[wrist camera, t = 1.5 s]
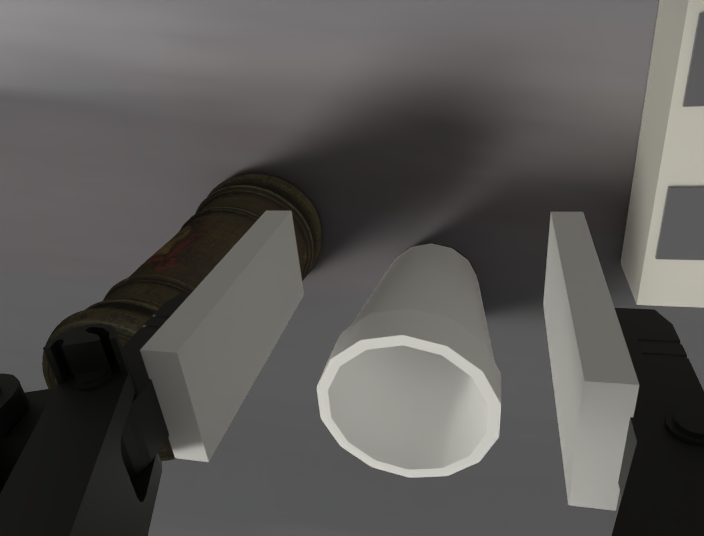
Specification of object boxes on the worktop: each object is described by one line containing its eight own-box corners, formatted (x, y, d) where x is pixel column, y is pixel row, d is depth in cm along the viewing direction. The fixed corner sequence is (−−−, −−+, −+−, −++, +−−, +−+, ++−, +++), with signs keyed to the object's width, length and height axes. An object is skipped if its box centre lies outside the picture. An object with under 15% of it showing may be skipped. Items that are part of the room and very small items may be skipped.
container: (335, 193, 38) (226, 354, 23) (310, 299, 43) (204, 492, 28) (211, 153, 39) (24, 284, 24) (199, 262, 44) (37, 431, 28)
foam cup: (398, 200, 37) (356, 304, 26) (526, 258, 37) (538, 387, 26) (348, 306, 42) (295, 431, 31) (461, 357, 42) (447, 501, 31)
